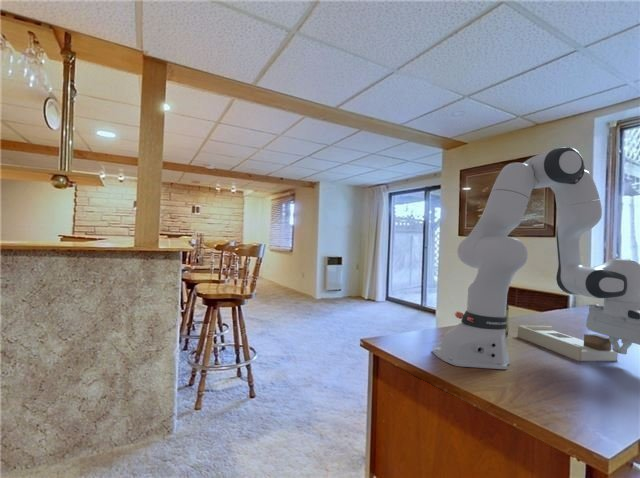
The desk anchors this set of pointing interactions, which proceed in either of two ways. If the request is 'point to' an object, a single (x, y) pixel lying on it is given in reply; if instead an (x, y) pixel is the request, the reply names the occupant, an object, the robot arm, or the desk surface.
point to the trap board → (563, 344)
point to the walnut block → (597, 342)
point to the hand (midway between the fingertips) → (619, 352)
